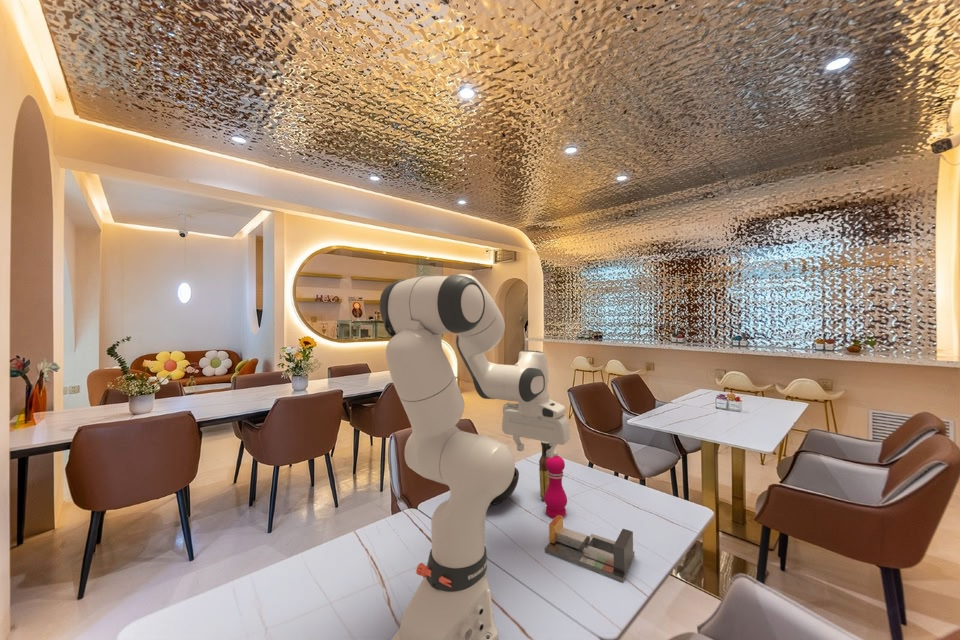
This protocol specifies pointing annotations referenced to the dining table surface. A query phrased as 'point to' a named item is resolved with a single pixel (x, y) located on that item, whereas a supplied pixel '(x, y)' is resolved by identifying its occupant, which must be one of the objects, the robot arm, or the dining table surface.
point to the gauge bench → (600, 555)
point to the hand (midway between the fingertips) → (534, 453)
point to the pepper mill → (555, 487)
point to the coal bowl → (508, 490)
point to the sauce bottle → (544, 469)
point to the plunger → (567, 535)
